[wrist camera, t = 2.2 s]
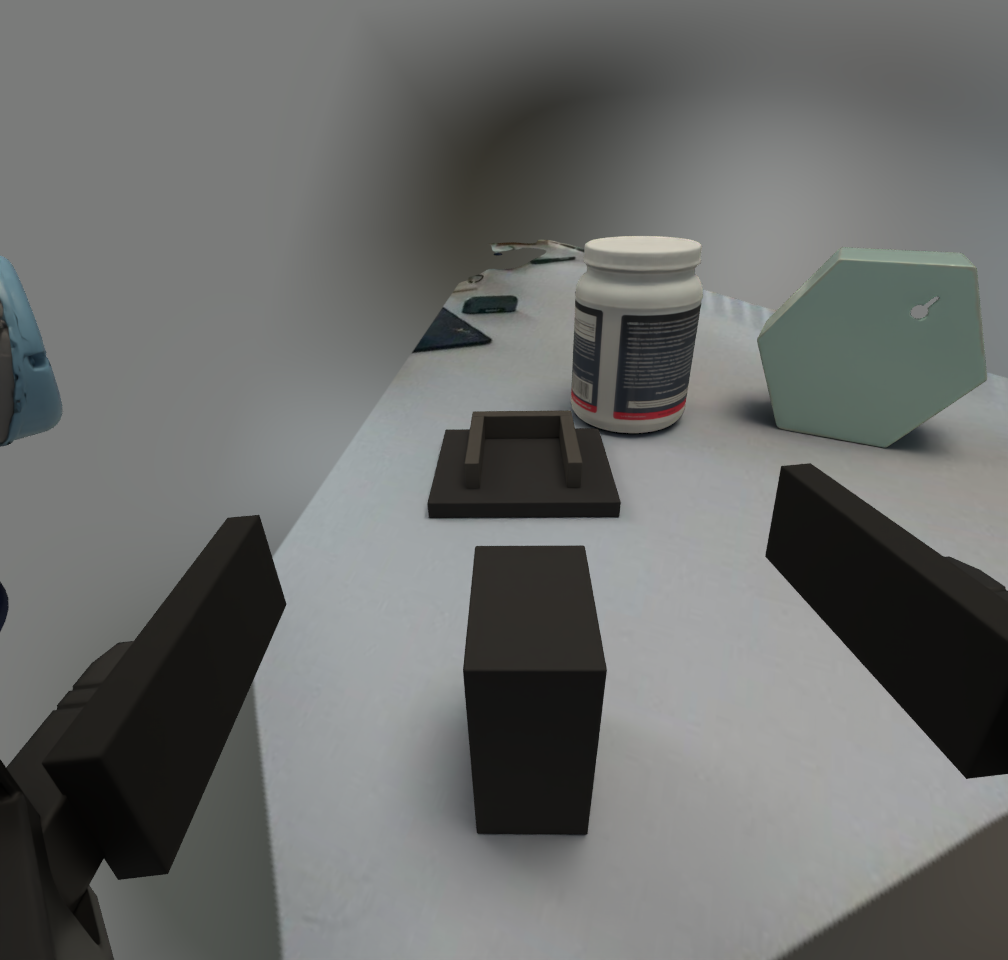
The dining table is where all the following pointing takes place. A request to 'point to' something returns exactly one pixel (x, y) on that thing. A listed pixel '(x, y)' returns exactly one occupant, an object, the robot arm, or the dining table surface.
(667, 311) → the supplement tub
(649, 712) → the dining table surface
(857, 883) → the dining table surface
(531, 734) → the tall dark brick
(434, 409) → the dining table surface
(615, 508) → the base pad
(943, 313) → the green hexagonal block
